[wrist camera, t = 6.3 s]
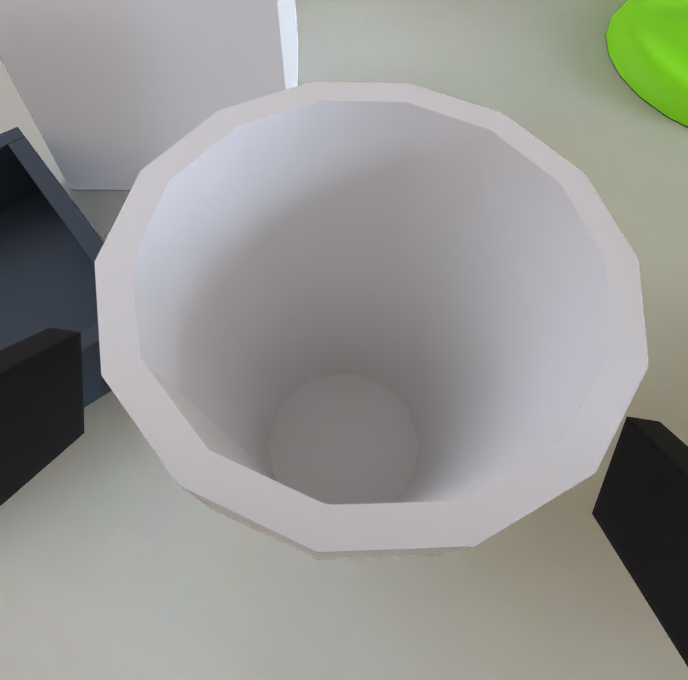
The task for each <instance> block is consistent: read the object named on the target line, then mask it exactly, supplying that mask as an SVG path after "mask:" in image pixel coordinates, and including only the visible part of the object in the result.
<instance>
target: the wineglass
mask: <svg viewBox="0 0 688 680" xmlns="http://www.w3.org/2000/svg"><path fill="white" fill-rule="evenodd" d="M606 39H607V46H608V53H609V56H610V58H611V59H612V61H613V63H614V65H615V67H616V69H617V71H618V72H619V74H620V76H621V77H622V78H623V79H624V80H625V81H626V82H627V83H628V84H629V86H630V87H631V88H632V89H633V90H634V91H635V92H636V93H637V94H638V95H639V96H640V97H641V98H642V99H644V100H645V101H646V102H648V103H649V104H651V105H652V106H653V107H655V108H656V109H658V110H659V111H660V112H662V113H663V114H665V115H666V116H667V117H669V118H671V119H673V120H675V121H677V122H680V123H682V124H684V125H686V126H688V0H627V1H626V2H625V3H624V4H623V5H622V6H621V7H620V8H619V9H618V10H617V11H616V13H615V14H614V15H613V16H612V17H611V19H610V23H609V26H608V29H607V32H606Z"/></svg>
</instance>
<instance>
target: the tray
mask: <svg viewBox="0 0 688 680" xmlns="http://www.w3.org/2000/svg"><path fill="white" fill-rule="evenodd" d="M103 244H104V242H103V241H102V240H101V238H100V237H99V236H98V234H97V233H96V232H95V230H94V229H93V228H92V226H91V225H90V224H89V222H88V221H87V219H86V218H85V217H84V215H83V214H82V213H81V211H80V210H79V209H78V207H77V206H76V205H75V203H74V202H73V201H72V199H71V198H70V197H69V195H68V194H67V193H66V191H65V190H64V189H63V187H62V186H61V185H60V183H59V182H58V180H57V179H56V178H55V176H54V175H53V174H52V172H51V171H50V170H49V168H48V167H47V166H46V164H45V163H44V162H43V160H42V159H41V158H40V156H39V155H38V154H37V152H36V151H35V150H34V148H33V147H32V146H31V144H30V143H29V142H28V140H27V139H26V138H25V136H24V135H23V133H22V132H21V131H20V129H19V128H18V127H16V128H13V129H11V130H9V131H7V132H4V133H2V134H0V350H2V349H4V348H6V347H8V346H10V345H13V344H15V343H17V342H19V341H21V340H23V339H26V338H28V337H30V336H32V335H34V334H36V333H39V332H41V331H43V330H45V329H47V328H50V327H51V328H57V329H63V330H70V331H76V332H81V352H82V379H83V407H85V406H87V405H88V404H90V403H92V402H93V401H95V400H96V399H98V398H99V397H101V396H103V395H104V394H106V393H107V392H109V391H110V390H111V388H110V387H109V385H108V384H107V383H106V381H105V380H104V378H103V377H102V375H101V363H100V346H99V329H98V313H97V296H96V280H95V263H94V262H95V260H96V258H97V256H98V254H99V252H100V250H101V248H102V246H103Z"/></svg>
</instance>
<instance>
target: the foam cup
mask: <svg viewBox="0 0 688 680" xmlns="http://www.w3.org/2000/svg"><path fill="white" fill-rule="evenodd" d="M94 263H95V280H96V296H97V313H98V329H99V346H100V363H101V375H102V377H103V378H104V380H105V381H106V383H107V384H108V385H109V387H110V388H111V390H112V391H113V393H114V394H115V395H116V397H117V398H118V400H119V401H120V403H121V404H122V405H123V407H124V408H125V410H126V411H127V413H128V414H129V415H130V417H131V418H132V420H133V421H134V423H135V424H136V425H137V427H138V428H139V430H140V431H141V433H142V434H143V435H144V437H145V438H146V440H147V441H148V443H149V444H150V445H151V447H152V448H153V450H154V451H155V453H156V454H157V455H158V457H159V458H160V460H161V461H162V463H163V464H164V465H165V467H166V468H167V470H168V471H169V473H170V474H171V475H172V477H173V478H174V480H175V481H176V483H177V484H178V485H179V486H180V487H182V488H183V489H185V490H186V491H187V492H189V493H190V494H192V495H193V496H195V497H196V498H197V499H199V500H200V501H202V502H203V503H204V504H206V505H207V506H209V507H210V508H212V509H214V510H216V511H218V512H220V513H222V514H224V515H226V516H228V517H230V518H232V519H234V520H236V521H239V522H241V523H243V524H245V525H247V526H249V527H251V528H253V529H255V530H257V531H259V532H261V533H263V534H265V535H267V536H270V537H272V538H274V539H276V540H278V541H280V542H282V543H284V544H286V545H288V546H290V547H292V548H294V549H296V550H298V551H300V552H303V553H305V554H307V555H309V556H311V557H313V558H315V559H317V560H332V559H358V558H384V557H410V556H436V555H442V554H446V553H450V552H454V551H458V550H462V549H466V548H470V547H474V546H477V545H478V544H480V543H482V542H483V541H485V540H487V539H488V538H490V537H492V536H493V535H495V534H496V533H498V532H500V531H501V530H503V529H505V528H506V527H508V526H510V525H511V524H513V523H514V522H516V521H518V520H519V519H521V518H523V517H524V516H526V515H527V514H529V513H531V512H532V511H534V510H536V509H537V508H539V507H541V506H542V505H544V504H545V503H547V502H549V501H550V500H552V499H554V498H555V497H557V496H559V495H560V494H562V493H563V492H565V491H567V490H568V489H570V488H572V487H573V486H575V485H577V484H578V483H580V482H581V481H583V480H585V479H586V478H588V477H590V476H591V475H593V474H594V473H596V471H597V469H598V467H599V465H600V463H601V461H602V459H603V457H604V455H605V453H606V451H607V449H608V447H609V445H610V443H611V441H612V439H613V437H614V435H615V433H616V431H617V429H618V427H619V425H620V423H621V421H622V419H623V417H624V415H625V413H626V411H627V409H628V407H629V405H630V403H631V401H632V399H633V397H634V395H635V393H636V391H637V388H638V386H639V384H640V382H641V380H642V378H643V376H644V374H645V372H646V370H647V368H648V366H649V363H648V352H647V342H646V331H645V320H644V310H643V299H642V288H641V278H640V267H639V259H638V257H637V256H636V254H635V253H634V251H633V249H632V248H631V246H630V245H629V243H628V242H627V240H626V238H625V237H624V235H623V234H622V232H621V230H620V229H619V227H618V226H617V224H616V222H615V221H614V219H613V218H612V216H611V214H610V213H609V211H608V210H607V208H606V207H605V205H604V203H603V202H602V200H601V199H600V197H599V195H598V194H597V192H596V191H595V189H594V187H593V186H592V184H591V183H590V181H589V179H588V178H587V176H586V175H585V173H584V172H582V171H581V170H580V169H578V168H577V167H575V166H574V165H573V164H571V163H570V162H569V161H567V160H566V159H565V158H563V157H562V156H561V155H559V154H558V153H556V152H555V151H554V150H552V149H551V148H550V147H548V146H547V145H546V144H544V143H543V142H542V141H540V140H539V139H537V138H536V137H535V136H533V135H532V134H531V133H529V132H528V131H527V130H525V129H524V128H522V127H521V126H520V125H518V124H517V123H516V122H514V121H513V120H512V119H510V118H509V117H508V116H506V115H505V114H503V113H500V112H497V111H494V110H491V109H488V108H484V107H481V106H478V105H475V104H472V103H469V102H466V101H463V100H460V99H457V98H454V97H451V96H448V95H445V94H441V93H438V92H435V91H432V90H429V89H426V88H423V87H420V86H417V85H414V84H411V83H365V82H309V83H306V84H303V85H299V86H296V87H293V88H290V89H286V90H283V91H280V92H277V93H273V94H270V95H267V96H263V97H260V98H257V99H254V100H250V101H247V102H244V103H241V104H237V105H234V106H231V107H228V108H224V109H221V110H218V111H217V112H216V113H214V114H213V115H212V116H210V117H209V118H208V119H207V120H205V121H204V122H203V123H201V124H200V125H199V126H198V127H196V128H195V129H194V130H192V131H191V132H190V133H189V134H187V135H186V136H185V137H183V138H182V139H181V140H179V141H178V142H177V143H176V144H174V145H173V146H172V147H170V148H169V149H168V150H167V151H165V152H164V153H163V154H161V155H160V156H159V157H158V158H156V159H155V160H154V161H152V162H151V163H150V164H149V165H147V166H146V167H145V168H143V169H142V170H141V171H140V173H139V175H138V177H137V179H136V181H135V183H134V185H133V187H132V189H131V191H130V193H129V194H128V196H127V198H126V200H125V202H124V204H123V206H122V208H121V210H120V212H119V214H118V216H117V218H116V220H115V222H114V224H113V226H112V228H111V230H110V232H109V234H108V236H107V238H106V240H105V242H104V244H103V246H102V248H101V250H100V252H99V254H98V256H97V258H96V260H95V262H94Z"/></svg>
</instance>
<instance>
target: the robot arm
mask: <svg viewBox="0 0 688 680" xmlns="http://www.w3.org/2000/svg"><path fill="white" fill-rule="evenodd" d="M82 434H84V407H83V379H82V352H81V332H76V331H70V330H63V329H57V328H51V327H50V328H47V329H45V330H43V331H41V332H39V333H36V334H34V335H32V336H30V337H28V338H26V339H23V340H21V341H19V342H17V343H15V344H13V345H10V346H8V347H6V348H4V349H2V350H0V506H1V505H2V504H3V503H4V502H5V501H7V500H8V499H9V498H10V497H11V496H12V495H13V494H15V493H16V492H17V491H18V490H19V489H20V488H21V487H23V486H24V485H25V484H26V483H27V482H28V481H30V480H31V479H32V478H33V477H34V476H35V475H36V474H38V473H39V472H40V471H41V470H42V469H43V468H44V467H46V466H47V465H48V464H49V463H50V462H51V461H52V460H54V459H55V458H56V457H57V456H58V455H59V454H61V453H62V452H63V451H64V450H65V449H66V448H67V447H69V446H70V445H71V444H72V443H73V442H74V441H75V440H77V439H78V438H79V437H80V436H81V435H82ZM592 514H593V516H594V518H595V519H596V521H597V522H598V524H599V526H600V527H601V529H602V530H603V532H604V534H605V535H606V537H607V538H608V540H609V542H610V543H611V545H612V546H613V548H614V550H615V551H616V553H617V554H618V556H619V558H620V559H621V561H622V562H623V564H624V566H625V567H626V569H627V570H628V572H629V574H630V575H631V577H632V578H633V580H634V582H635V583H636V585H637V586H638V588H639V589H640V591H641V593H642V594H643V596H644V597H645V599H646V601H647V602H648V604H649V605H650V607H651V609H652V610H653V612H654V613H655V615H656V617H657V618H658V620H659V621H660V623H661V625H662V626H663V628H664V629H665V631H666V633H667V634H668V636H669V637H670V639H671V641H672V642H673V644H674V645H675V647H676V649H677V650H678V652H679V653H680V655H681V657H682V658H683V660H684V661H685V663H686V665H687V666H688V446H687V445H685V444H684V443H683V442H682V441H681V440H680V439H679V438H677V437H676V436H675V435H674V434H673V433H672V432H671V431H670V430H668V429H667V428H666V427H665V426H664V425H663V424H662V423H660V422H659V421H652V420H646V419H639V418H633V417H626V420H625V423H624V426H623V428H622V431H621V434H620V437H619V440H618V442H617V445H616V448H615V451H614V454H613V456H612V459H611V462H610V465H609V467H608V470H607V473H606V476H605V479H604V481H603V484H602V487H601V490H600V492H599V495H598V498H597V501H596V504H595V506H594V509H593V512H592Z"/></svg>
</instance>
